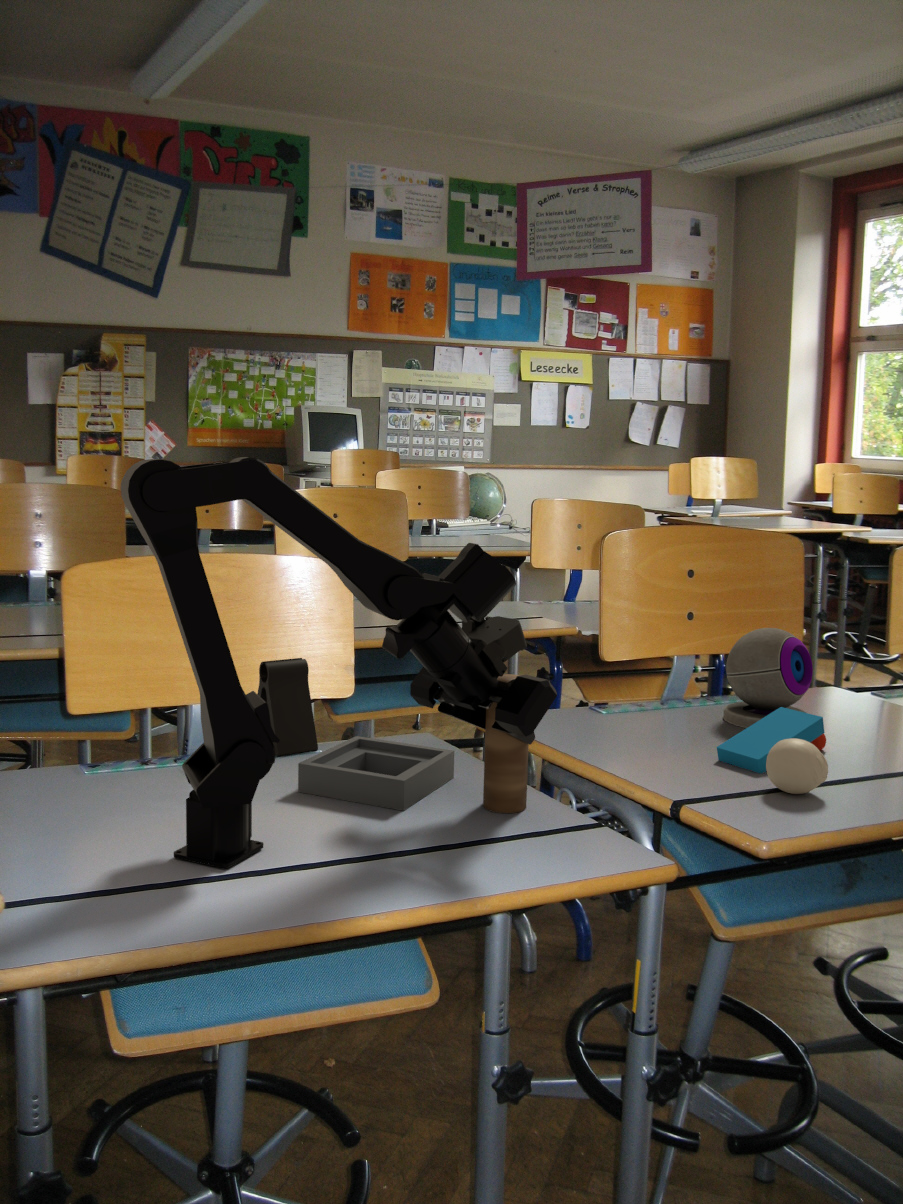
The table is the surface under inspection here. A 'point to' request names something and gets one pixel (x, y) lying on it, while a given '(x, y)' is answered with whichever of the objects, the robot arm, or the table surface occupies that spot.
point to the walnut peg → (504, 766)
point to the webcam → (766, 674)
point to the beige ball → (796, 766)
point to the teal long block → (771, 738)
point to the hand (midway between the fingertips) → (515, 735)
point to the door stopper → (288, 704)
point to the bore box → (376, 772)
